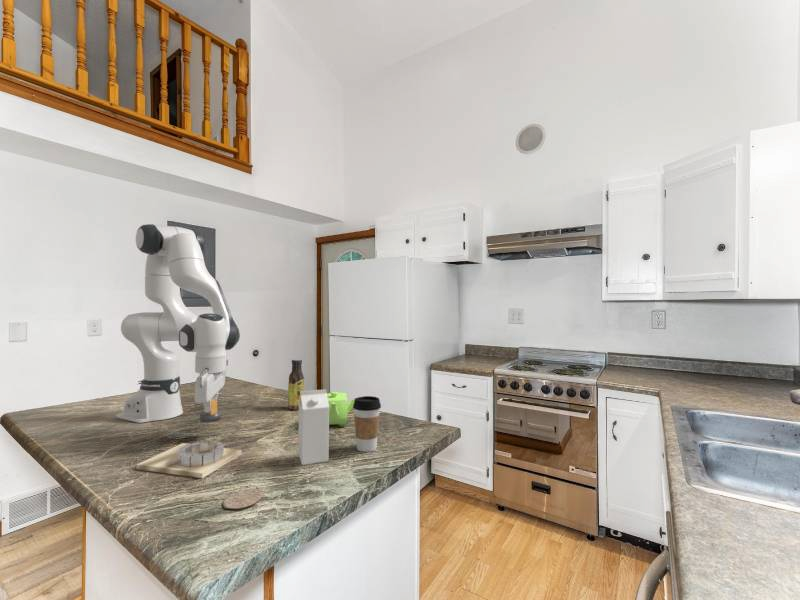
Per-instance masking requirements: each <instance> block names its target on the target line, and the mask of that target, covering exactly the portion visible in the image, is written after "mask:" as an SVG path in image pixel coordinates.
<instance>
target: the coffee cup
mask: <svg viewBox="0 0 800 600" xmlns="http://www.w3.org/2000/svg"><path fill="white" fill-rule="evenodd" d="M380 401H381V400H380V398H379V397H377V396H370V395H369V396H367V395H366V396H359V397H356V398H355V401H354V404H353V407H352V409H353V411H354V414H353V417H354V430H355V441H356V449H357V451H359V452H364V453H368V452H373V451H375V450H377V448H378V447H377V446H378V435H379V426H380V418H381V417H380V416H381V414H380V409H381V408H382V405H381V404H382V403H381V402H380Z"/></svg>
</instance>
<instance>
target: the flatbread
mask: <svg viewBox="0 0 800 600" xmlns="http://www.w3.org/2000/svg"><path fill="white" fill-rule="evenodd" d="M262 496H263V495H262V492H261V491H259V490H257V489H250V488H249V489H245V490H239V491H236V492H233V493H231V494H230V495H228V496H226V498H225V499H224V500H223V502H222V505H223V508H224V509H227V510H228V509H229V510H241V509H245V508H249V507H250V506H253V505H255V504H256V503H258V502H259V501H260V500H261V498H262Z"/></svg>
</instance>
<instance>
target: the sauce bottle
mask: <svg viewBox="0 0 800 600" xmlns="http://www.w3.org/2000/svg"><path fill="white" fill-rule="evenodd" d="M291 364H292V365H291V372H290V374H289V375H288V389H287V393H288V394H287V405H288V407H287V408H288V410H291V411H297V410H298V411H299V400H300V396H301V391H305V377H304V374H303V370H302V369H303V368H302V364H303V359H302V358H296V359H295V358H294V359H291Z"/></svg>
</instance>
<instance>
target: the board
mask: <svg viewBox="0 0 800 600" xmlns="http://www.w3.org/2000/svg"><path fill="white" fill-rule="evenodd" d="M189 444H190V443H184V442H182V443H180V444H178V445H176V446H174V447H171V448H169V449H168V450H165V451H162V452H160V453H158V454H156V455H154V456H152V457H150V458H148V459H145V460H143V461H142V462H139V463H137V464H136V470H139V471H146V472H147V471H148V472H155V473H162V474H168V475H169V474H170V475H175V476H183V477H189V478H190V477H191V478H196V479H197V478H198V479H204V478H205V477H206V476H208V475H210V474H211V473H214V472H215V471H217V470H219V469H220V468H221V467H223V466H224V465H227V464H228V463H229V462H231V461H234V460H235V459H236V458H238V457H239V456H241V455H242V449H236V448H228V447H227V448H226V447H224V454H223V457H222V458H221V459H219V460H218V461H216V462H214V463H211V464H207V465H204V466H203V465H202V466H197V467H185V466H180V465H179V464H178V463H177V452H178V451H179V449H181V448H182V447H184V446H186V445H189ZM205 453H206V452H205ZM198 454H202V453H198Z"/></svg>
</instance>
